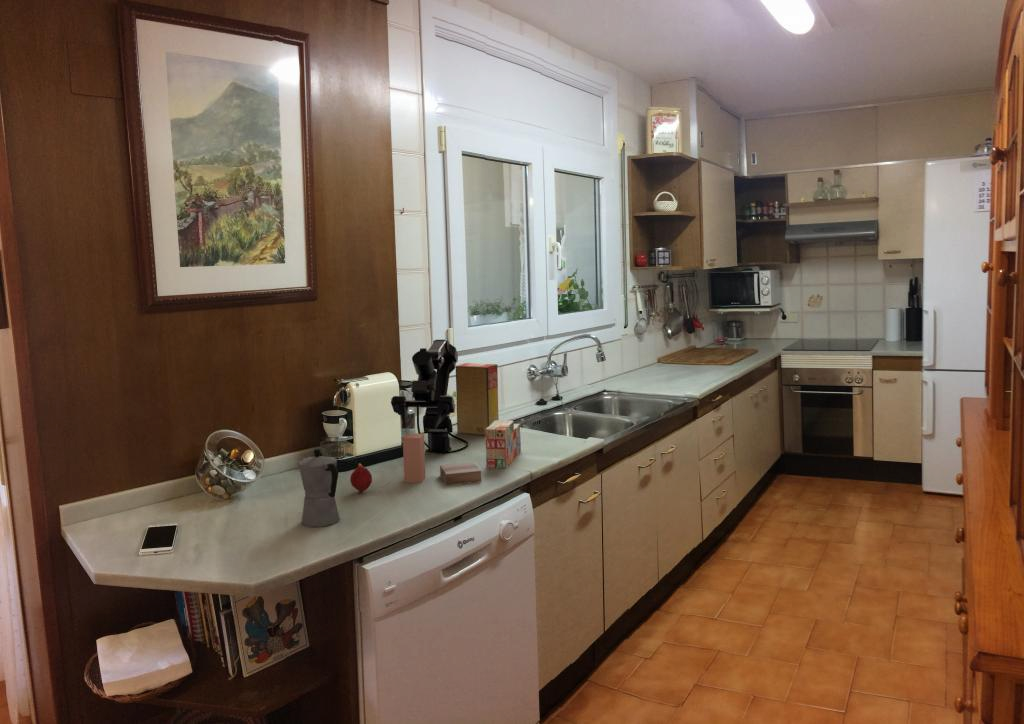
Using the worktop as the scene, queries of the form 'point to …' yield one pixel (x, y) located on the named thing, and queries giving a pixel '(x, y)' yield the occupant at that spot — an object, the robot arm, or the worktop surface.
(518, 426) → the stack of blocks
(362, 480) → the onion
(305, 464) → the coffeepot
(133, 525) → the worktop surface
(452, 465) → the walnut block
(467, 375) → the food packaging
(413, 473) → the terracotta block
